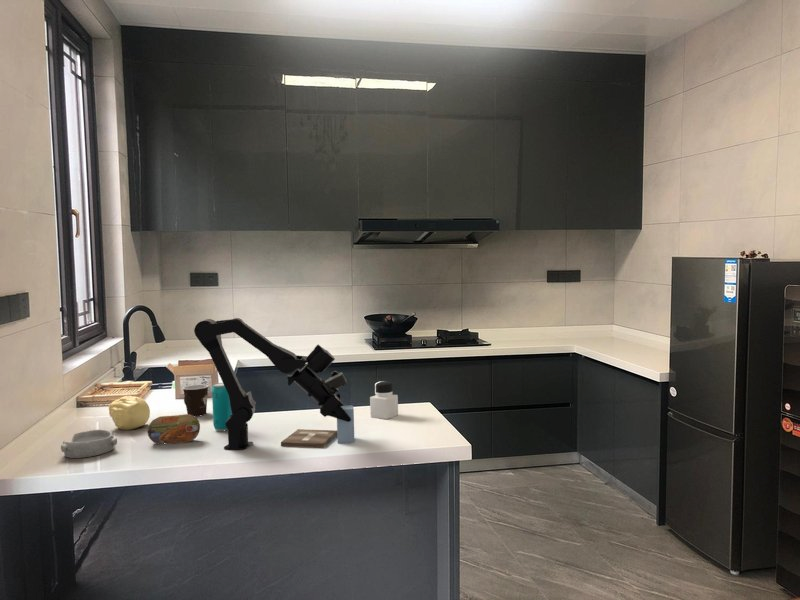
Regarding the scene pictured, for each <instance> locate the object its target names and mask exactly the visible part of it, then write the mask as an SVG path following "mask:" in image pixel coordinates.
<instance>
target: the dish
mask: <svg viewBox="0 0 800 600" xmlns="http://www.w3.org/2000/svg"><path fill="white" fill-rule="evenodd" d="M117 444H118V438H114V434H113V431H111V430H107V429H103V428H102V429H101V428H100V429H92V430H90V429H89V430H84V431H80V432H76V433H74V434H73V436H72V438H71V440H70V441H66V440H63V441H62V444H61V445H60V450H61V453H64V456H65V457H66V458H70V459H80V458H81V459H82V458H88V457H89V458H90V457H95V456H98V455H99V456H100V455H102V454H106V453H108V452H111V451H112V450H113V449H114V447H116V446H117Z"/></svg>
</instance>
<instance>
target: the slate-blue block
mask: <svg viewBox="0 0 800 600" xmlns="http://www.w3.org/2000/svg"><path fill="white" fill-rule="evenodd" d="M341 407H342V408H343V409H344V410H345V412H346V413H347V414H348V416H349V417H350V418H351V421H350V422H347V421H344V420H341V419H338V418H336V431H337V435H336V436H337V444H347V443H348V444H349V443H355V416H354V415H355V414H354V410H355V409H354V405H344V406H341Z"/></svg>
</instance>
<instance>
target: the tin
mask: <svg viewBox="0 0 800 600" xmlns="http://www.w3.org/2000/svg"><path fill="white" fill-rule="evenodd" d="M200 431H201V423H200V421H199V419H198V418H197V416H196V417H194V416H193V415H190V414H187V413H185V414H175V415H163V416H158V417H156V418H154V419H153V420H152V421H151V422H150V423H149V424H148V427H147V436H148V438H149V439H150V440H151V442H153V443H154V444H157V445H165V444H164V443H172V444H177V443H176V442H185V443H190V442H192V441H193V440H194V441H195V439H197V437H198V436H199V433H200Z"/></svg>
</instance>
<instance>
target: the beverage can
mask: <svg viewBox="0 0 800 600" xmlns="http://www.w3.org/2000/svg"><path fill="white" fill-rule="evenodd" d="M211 396H212V397H211V399H212V400H211V401H212V418H213V419H212V421H213V422H212V423H213V428H214V430H215V431H216V430H217V431H216V432H225V431H224V430H227V431H228V429H227V427H226V425H225V423H226V421H227V420H228V418H229V417H230V415H231V414H232V411H231V407H230V400H229V395H228V393H227V390H226V388H225V386H224V384H223V382H216V383H213V384H212V388H211Z"/></svg>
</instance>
